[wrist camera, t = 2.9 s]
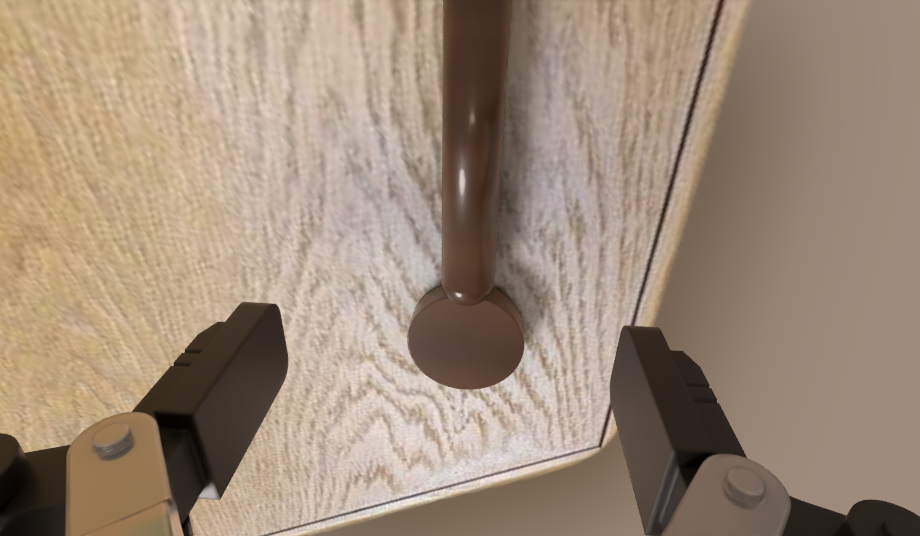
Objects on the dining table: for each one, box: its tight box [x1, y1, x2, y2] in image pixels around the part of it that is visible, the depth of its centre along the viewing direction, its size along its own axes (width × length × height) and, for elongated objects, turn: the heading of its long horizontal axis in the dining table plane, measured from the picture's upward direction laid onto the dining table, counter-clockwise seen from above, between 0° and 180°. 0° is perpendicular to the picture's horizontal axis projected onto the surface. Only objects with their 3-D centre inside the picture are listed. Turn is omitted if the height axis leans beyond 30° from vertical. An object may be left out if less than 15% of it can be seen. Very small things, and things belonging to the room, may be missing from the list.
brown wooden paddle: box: [408, 0, 524, 390], centre depth 18 cm, size 17×5×2 cm, turn 179°
